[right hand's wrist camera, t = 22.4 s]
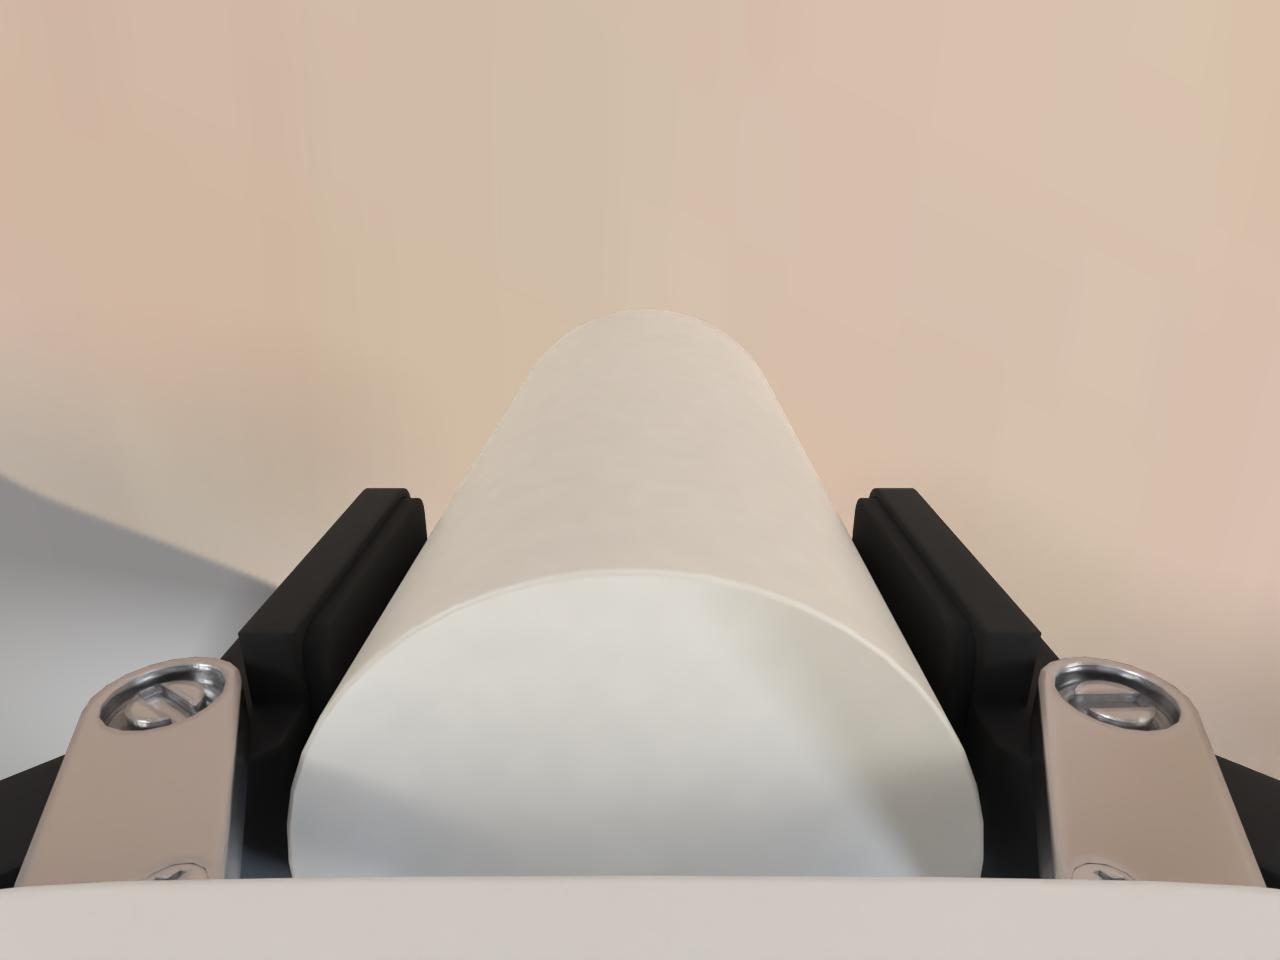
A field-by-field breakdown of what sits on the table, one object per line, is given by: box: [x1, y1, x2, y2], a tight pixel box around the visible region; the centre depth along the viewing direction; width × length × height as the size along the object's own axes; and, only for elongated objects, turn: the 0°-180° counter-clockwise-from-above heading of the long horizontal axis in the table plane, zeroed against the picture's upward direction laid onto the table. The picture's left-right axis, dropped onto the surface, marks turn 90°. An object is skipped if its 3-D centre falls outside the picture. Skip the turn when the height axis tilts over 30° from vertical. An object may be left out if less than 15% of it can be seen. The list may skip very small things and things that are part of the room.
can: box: [287, 309, 983, 878], centre depth 12 cm, size 6×6×12 cm
